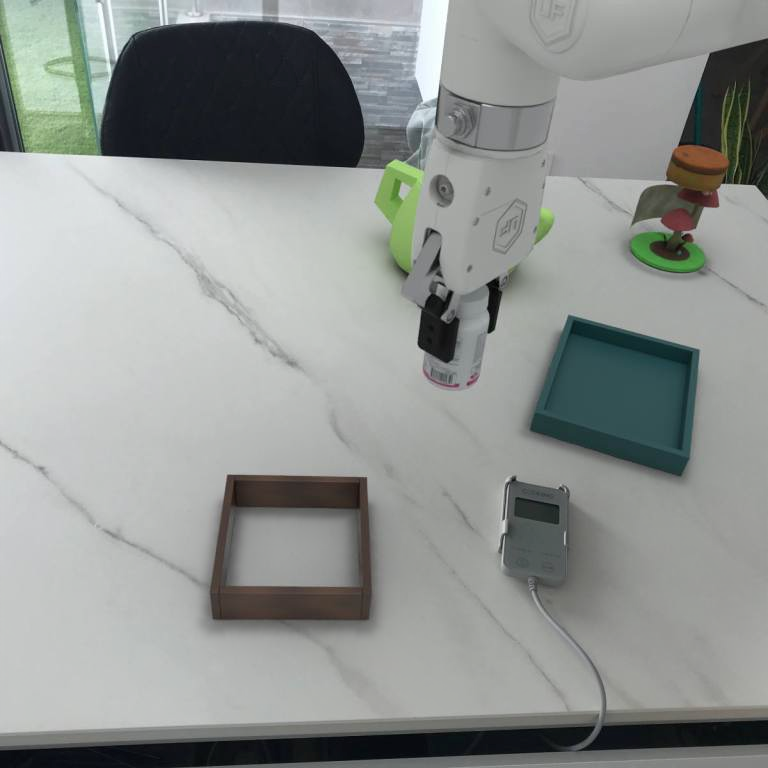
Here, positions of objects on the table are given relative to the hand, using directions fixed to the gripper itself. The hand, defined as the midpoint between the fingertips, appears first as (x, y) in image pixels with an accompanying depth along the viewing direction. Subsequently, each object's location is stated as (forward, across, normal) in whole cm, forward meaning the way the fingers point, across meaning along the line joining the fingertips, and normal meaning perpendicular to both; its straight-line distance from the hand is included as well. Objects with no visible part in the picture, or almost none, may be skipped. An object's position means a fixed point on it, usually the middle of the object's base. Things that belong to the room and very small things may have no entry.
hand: (456, 337), depth 62 cm
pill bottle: (+4, 0, 0) cm, 4 cm away
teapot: (+18, +33, +23) cm, 44 cm away
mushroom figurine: (+18, +62, +4) cm, 64 cm away
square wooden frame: (+18, -14, +4) cm, 23 cm away
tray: (+18, +26, -6) cm, 32 cm away
